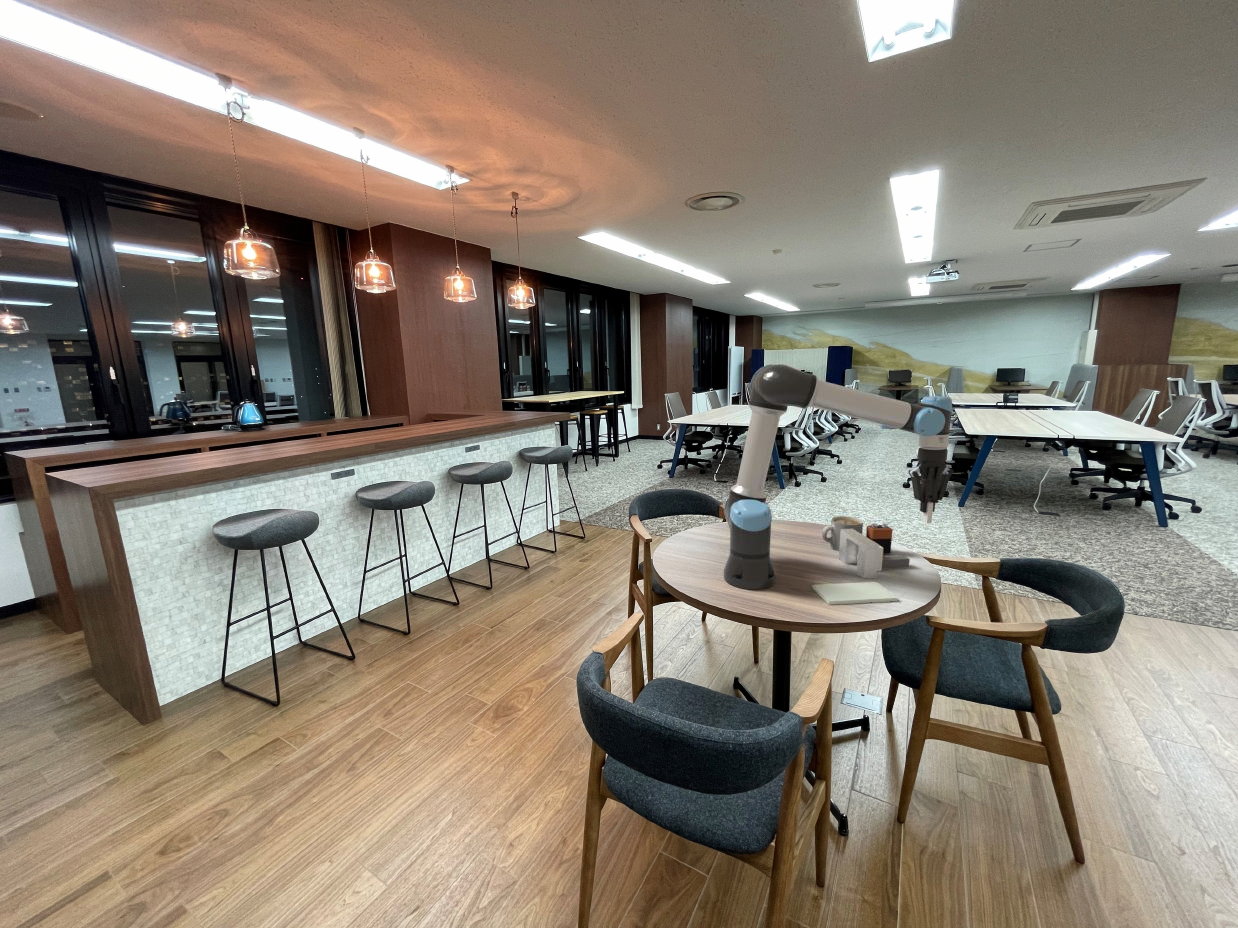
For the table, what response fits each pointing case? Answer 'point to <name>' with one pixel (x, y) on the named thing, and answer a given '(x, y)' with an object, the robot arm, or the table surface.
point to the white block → (891, 561)
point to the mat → (854, 593)
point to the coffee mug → (836, 527)
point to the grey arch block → (859, 552)
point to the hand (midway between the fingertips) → (926, 521)
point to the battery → (880, 536)
